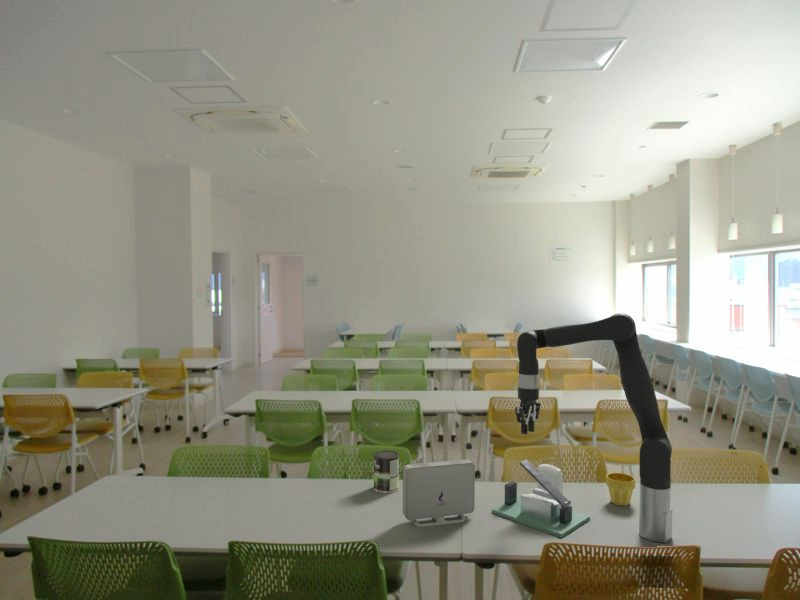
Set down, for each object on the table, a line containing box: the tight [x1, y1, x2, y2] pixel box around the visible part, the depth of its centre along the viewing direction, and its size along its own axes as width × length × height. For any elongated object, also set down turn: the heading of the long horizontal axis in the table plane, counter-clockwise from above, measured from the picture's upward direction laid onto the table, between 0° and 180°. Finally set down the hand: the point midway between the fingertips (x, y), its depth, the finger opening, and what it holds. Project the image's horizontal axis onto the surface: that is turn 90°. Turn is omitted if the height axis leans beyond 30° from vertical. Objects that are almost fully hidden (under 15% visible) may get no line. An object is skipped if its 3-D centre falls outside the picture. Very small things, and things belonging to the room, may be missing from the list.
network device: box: [402, 459, 476, 528], centre depth 197 cm, size 26×9×20 cm, turn 105°
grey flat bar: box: [519, 459, 572, 508], centre depth 199 cm, size 21×4×1 cm
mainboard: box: [491, 494, 591, 538], centre depth 200 cm, size 28×20×1 cm
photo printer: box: [537, 463, 564, 496], centre depth 218 cm, size 10×4×12 cm, turn 39°
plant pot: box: [605, 472, 636, 506], centre depth 213 cm, size 10×10×10 cm
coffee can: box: [373, 450, 400, 494], centre depth 226 cm, size 10×10×14 cm
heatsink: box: [504, 480, 573, 524], centre depth 201 cm, size 24×10×7 cm, turn 45°
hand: (527, 432), depth 203 cm, fingers open, 4 cm apart
